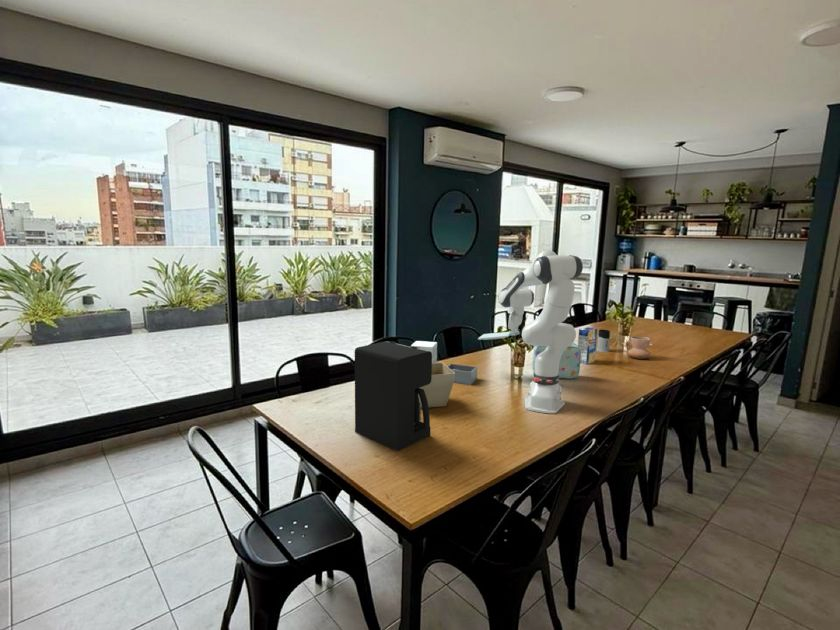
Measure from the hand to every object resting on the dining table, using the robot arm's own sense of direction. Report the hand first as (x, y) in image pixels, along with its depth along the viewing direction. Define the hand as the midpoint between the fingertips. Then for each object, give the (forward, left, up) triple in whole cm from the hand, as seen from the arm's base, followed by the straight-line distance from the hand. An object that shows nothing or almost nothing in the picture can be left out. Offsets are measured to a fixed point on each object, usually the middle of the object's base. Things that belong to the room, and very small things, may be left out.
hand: (514, 334), depth 247 cm
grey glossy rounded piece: (-13, +30, -25) cm, 41 cm away
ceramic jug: (+88, -68, -26) cm, 114 cm away
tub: (-15, +26, -26) cm, 40 cm away
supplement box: (-11, +50, -26) cm, 57 cm away
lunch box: (+16, -22, -26) cm, 38 cm away
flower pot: (-56, +28, -26) cm, 68 cm away
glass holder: (+97, -48, -26) cm, 111 cm away
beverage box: (+59, -36, -26) cm, 74 cm away
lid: (0, +8, -2) cm, 9 cm away
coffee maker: (-95, +26, -26) cm, 102 cm away
